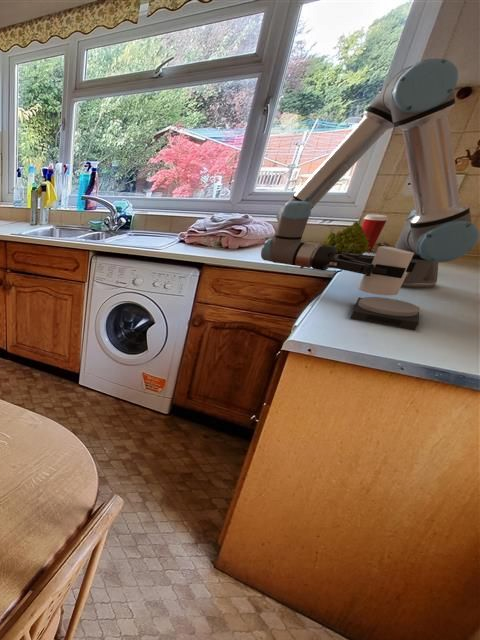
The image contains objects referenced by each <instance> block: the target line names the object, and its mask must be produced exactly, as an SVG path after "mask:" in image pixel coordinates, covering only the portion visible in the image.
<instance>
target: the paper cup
mask: <svg viewBox="0 0 480 640" xmlns="http://www.w3.org/2000/svg"><path fill="white" fill-rule="evenodd" d="M363 219H364V220H363V222H362V224H361V226H362V230H363V231H365V233H364V234H366V235H365V236H366V237H365V238H370V240H369V241H368V242H369V245H368V246H367V247H371V248H370V249H369V250H368V251H367V252H366V253H369V252H371V251H373V248H374V246H375V244H376V243H377V241H378V238H379V237H380V235H381V232H382V230H383V228H384V227H385V225H386V223H387V221H388V220H389V219H388V215H386V214H385V215H384V214H375V213H373V214H371V213H370V214H366V215H365V216H364V217H363Z"/></svg>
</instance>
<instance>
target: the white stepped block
mask: <svg viewBox="0 0 480 640" xmlns="http://www.w3.org/2000/svg"><path fill="white" fill-rule="evenodd" d="M413 255H414V253H413V252H409V251H405V250H401V249H397V248H394V247H393V246H392V247H388V246H387V245H385V246H383V245H382V246H378V247H377V250H376V252H375V255H374V256H375V257H374V259H373V261H372V264H373V265H374V266H375V265H376V264H381V265H387V266H394V267H401V268H406V270H407V267H408V265H409V263H410V261H411V259H412V257H413ZM406 270H405V272H404V274H403V276H402V278H395V277H389V276H383V275H377V274H372V272H371V275H370V276H366V274H363V277H362V279H361V281H360V283H359V285H358V290H359V291H361V292H363V293H367V294H372V295H377V296H395V295H398V294H399V292H400V290H401V288H402V287H401V285H402V283H403V281H404V279H405V277H406V275H407V272H406Z"/></svg>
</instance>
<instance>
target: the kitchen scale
mask: <svg viewBox="0 0 480 640" xmlns="http://www.w3.org/2000/svg"><path fill="white" fill-rule="evenodd" d="M420 311H421V308H420V306H417V305H416V304H414V303H410V302H408V301H405V300H399V299H395V298H389V297H379V296H366V297H358V298H357V300H356V303H355V305H354V308H353V310H352V312H351V315H350V317H349V318H350V320H355V321H359V322H366V323H372V324H376V325H382V326H388V327H393V328H400V329H404V330H410V331H416V329H417V327H418V325H419V323H420Z"/></svg>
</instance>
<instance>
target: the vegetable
mask: <svg viewBox="0 0 480 640" xmlns="http://www.w3.org/2000/svg"><path fill="white" fill-rule="evenodd" d="M364 233H365V231H363V230H362V225H360V223H359V222H358V221H354V222H353V224H351V225H348V226H347V227H346V228H342V230H338V231H337V232H336V233H334V232H332V231H330V232H328V235H327V236H326V239H325V240H324V241H323V242H321V243H319V244H320V245H321V246H322V245H328V246H335V247H336V248H337V251H336V253H337V254H342V253H353V254H361V255H364V254H366V253H368V252H367V251H368V250H369V249H370V248H371V247H367V246H368V245H369V242H368V241H369V240H370V238H365V237H366V236H365V235H366V234H364Z"/></svg>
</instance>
